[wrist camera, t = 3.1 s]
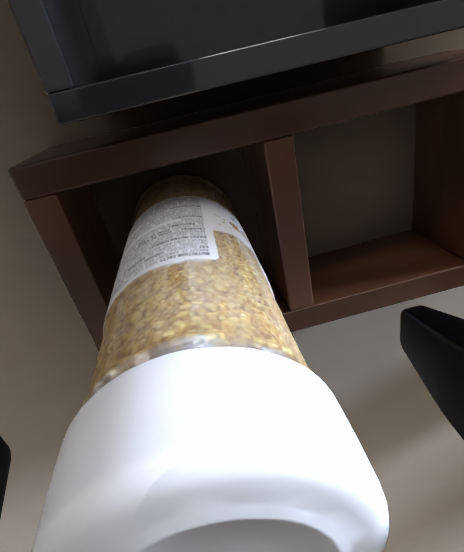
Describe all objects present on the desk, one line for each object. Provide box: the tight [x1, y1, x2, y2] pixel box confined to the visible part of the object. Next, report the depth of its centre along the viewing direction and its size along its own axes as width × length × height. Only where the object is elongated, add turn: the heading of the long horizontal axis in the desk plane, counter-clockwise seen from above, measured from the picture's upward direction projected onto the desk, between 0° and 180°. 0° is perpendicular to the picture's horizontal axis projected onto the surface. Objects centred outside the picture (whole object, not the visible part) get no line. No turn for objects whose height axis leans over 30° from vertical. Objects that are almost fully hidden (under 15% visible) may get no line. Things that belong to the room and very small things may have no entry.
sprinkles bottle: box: [31, 175, 389, 552], centre depth 10 cm, size 5×5×14 cm
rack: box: [9, 49, 464, 350], centre depth 15 cm, size 8×16×4 cm, turn 102°
